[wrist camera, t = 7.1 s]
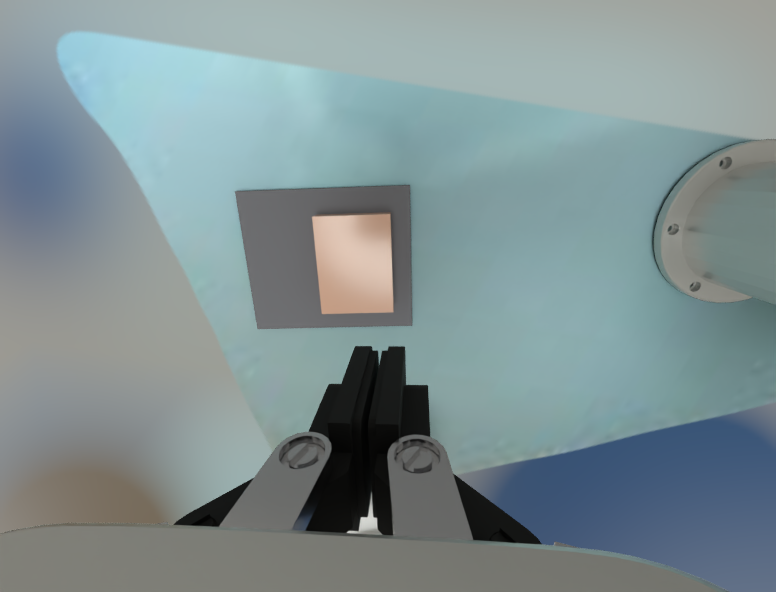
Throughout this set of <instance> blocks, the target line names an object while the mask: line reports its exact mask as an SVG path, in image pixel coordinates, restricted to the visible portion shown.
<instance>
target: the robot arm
mask: <svg viewBox="0 0 776 592" xmlns="http://www.w3.org/2000/svg"><path fill="white" fill-rule="evenodd" d="M654 252H655V258H656V261H657V264H658V266H659V269H660V271H661V273H662V274H663V276H664V277H665V278H666V280H667V281H668V282H669V283H670V284H671V285H672V286H674V287H675V288H676V289H677V290H679V291H681V292H683V293H685V294H687V295H689V296H691V297H694V298H697V299H699V300H702V301H707V302H714V303H732V302H737V301H742V300H747V299H750V298H753V297H754V298H757V299H760V300H762V301H765V302H768V303H771V304H774V305H776V140H775V139H766V140H755V141H748V142H744V143H739V144H735V145H732V146H729V147H727V148H725V149H722V150H720V151H717V152H715V153H714V154H712V155H710V156H709V157H707V158H706V159H704V160H702V161H701V162H699V163H698V164H697V165H696V166H695V167H693V168H692V169H691V170H690V171H689V172H688V173H686V174H685V176H684V177H683V178H682V179H681V180H680V181H679V182H678V183H677V185H676V186H675V187H674V188H673V190H672V191H671V193H670V194H669V196H668V198H667V199H666V201H665V202H664V205H663V207H662V209H661V212H660V214H659V216H658V220H657V224H656V228H655V232H654ZM371 493H372V506H373V517H374V518H377V528H378V530H379V531H380V533H381V534H382V535H373V534H354V533H347V532H348V531H359V526H360V520H361V517H368V513H369V506H370V500H371ZM0 592H729V591H727V590H725V589H723V588H721V587H719V586H717V585H715V584H713V583H711V582H708V581H706V580H704V579H701V578H698V577H696V576H693V575H690V574H688V573H685V572H683V571H680V570H678V569H675V568H672V567H670V566H667V565H663V564H660V563H656V562H652V561H648V560H644V559H641V558H638V557H634V556H629V555H624V554H618V553H612V552H607V551H602V550H592V549H582V548H577V547H574V546H570V545H566V544H562V543H558V542H555V543H554V546H551V545H542V544H541V543H540V541H539V540H538V538H537V537H536V536H534V535H533V534H532V533H531V532H530V531H529V530H528V529H527V528H525V527H524V526H523V525H521V524H520V523H519V522H517V521H516V520H515V519H513V518H512V517H510V516H509V515H508V514H507V513H505V512H504V511H503V510H501V509H500V508H498V507H497V506H496V505H494V504H493V503H492V502H490V501H489V500H488V499H486V498H485V497H484V496H482V495H481V494H480V493H478V492H477V491H476V490H474V489H473V488H471V487H470V486H469V485H468V484H466V483H465V482H464V481H462V480H461V479H460V478H458V477H457V476H456V475H454V474H453V472H452V469H451V465H450V462H449V459H448V456H447V452H446V451H445V449H444V447H443V446H442V445H441V444H440V443H439V442H438V441H437V440H435V439H433V438H431V437H430V422H429V400H428V385H406V368H405V347H389V348H388V351H382V355H381V360H380V365H379V359H378V351H372V346H355V348H354V351H353V354H352V356H351V359H350V362H349V365H348V367H347V370H346V373H345V375H344V378H343V381H342V384H329V385H328V387H327V389H326V392H325V394H324V396H323V399H322V401H321V404H320V406H319V408H318V411H317V413H316V415H315V418H314V420H313V422H312V425H311V427H310V429H309V432H303V433H297V434H295V435H292V436H290V437H288V438H286V439H285V440H283V441H282V442H281V443H280V444H279V445H278V446H277V447H276V448H275V450H274V451H273V453H272V454H271V456H270V457H269V458H268V459H267V461H266V462H265V464H264V465H263V466H262V468H261V469H260V471H259V472H258V473H257V475H256V476H255V477H254V478H253V479H251V480H249V481H247V482H246V483H244V484H242V485H240V486H238V487H236V488H234V489H233V490H231V491H229V492H227V493H225V494H223V495H222V496H220V497H218V498H216V499H214V500H212V501H211V502H209V503H207V504H205V505H203V506H202V507H200V508H198V509H196V510H194V511H192V512H191V513H189V514H187V515H186V516H184V517H183V518H181V519H180V520H178V521H177V522H176V523H175V524H174V525H168V522H165V523H158V524H137V523H63V524H50V525H40V526H34V527H29V528H23V529H17V530H12V531H8V532H4V533H1V534H0Z"/></svg>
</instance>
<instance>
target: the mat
mask: <svg viewBox="0 0 776 592" xmlns="http://www.w3.org/2000/svg"><path fill="white" fill-rule="evenodd" d="M235 194H236V200H237V206H238V212H239V218H240V225H241V231H242V237H243V243H244V249H245V255H246V261H247V267H248V273H249V279H250V286H251V292H252V298H253V304H254V310H255V316H256V322H257V328H258V329H280V328H324V327H369V326H412V293H411V228H410V185H398V186H371V187H343V188H316V189H288V190H261V191H236V192H235ZM378 212H391V237H392V268H393V299H394V312H387V313H345V314H322V311H321V301H320V291H319V281H318V271H317V261H316V251H315V241H314V231H313V222H312V216H315V215H318V214H348V213H378Z"/></svg>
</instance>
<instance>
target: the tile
mask: <svg viewBox="0 0 776 592" xmlns="http://www.w3.org/2000/svg"><path fill="white" fill-rule="evenodd" d="M312 222H313V231H314V241H315V251H316V261H317V271H318V281H319V291H320V301H321V311H322V314H345V313H387V312H394V299H393V268H392V237H391V212H378V213H348V214H318V215H315V216H312Z"/></svg>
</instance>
